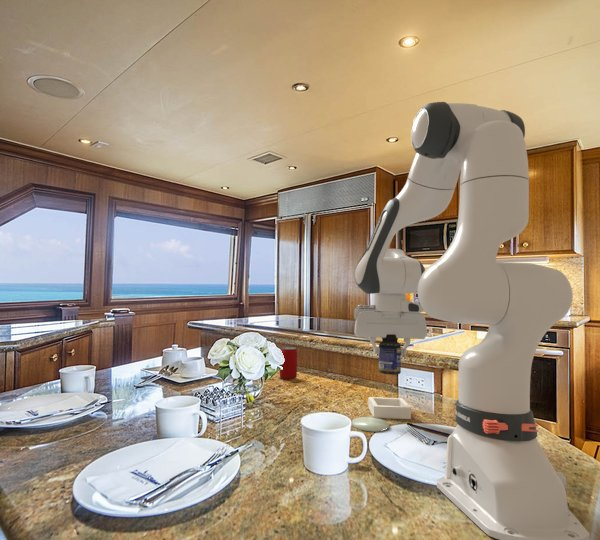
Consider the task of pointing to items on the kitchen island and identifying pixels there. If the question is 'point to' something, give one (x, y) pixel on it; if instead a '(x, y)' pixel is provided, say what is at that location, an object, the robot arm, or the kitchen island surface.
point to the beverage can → (289, 363)
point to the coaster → (369, 424)
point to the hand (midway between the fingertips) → (389, 354)
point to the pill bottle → (390, 355)
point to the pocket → (389, 408)
